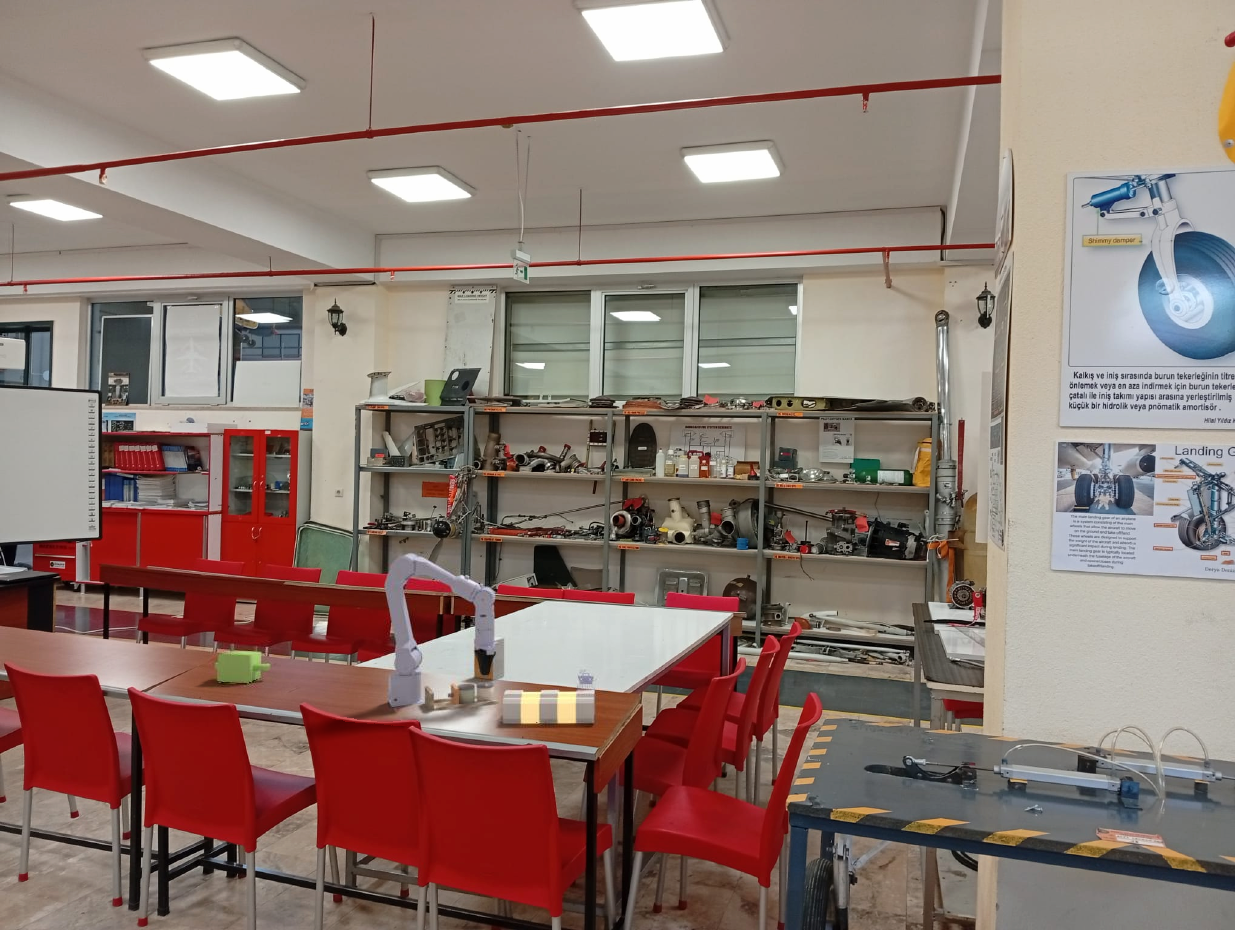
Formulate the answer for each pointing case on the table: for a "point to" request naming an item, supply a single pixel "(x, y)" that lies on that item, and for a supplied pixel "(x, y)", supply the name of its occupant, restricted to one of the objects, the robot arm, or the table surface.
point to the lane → (450, 702)
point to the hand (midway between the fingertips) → (484, 674)
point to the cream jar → (485, 691)
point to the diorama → (550, 705)
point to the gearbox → (240, 666)
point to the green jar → (466, 693)
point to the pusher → (454, 694)
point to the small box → (497, 662)
